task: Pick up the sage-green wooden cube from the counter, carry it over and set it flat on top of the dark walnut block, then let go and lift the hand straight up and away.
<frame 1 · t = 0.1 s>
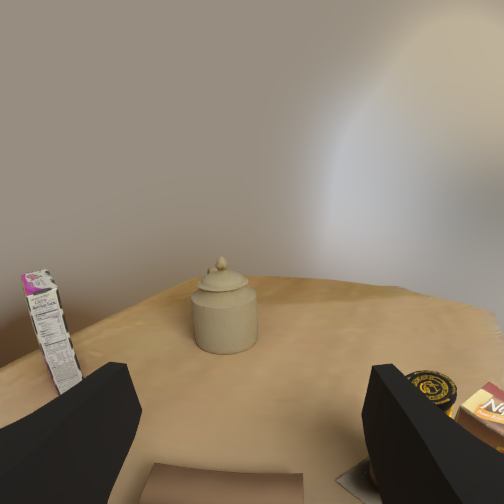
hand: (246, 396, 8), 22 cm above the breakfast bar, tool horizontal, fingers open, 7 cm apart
candy bar box: (66, 379, 41), on the breakfast bar
condiment: (389, 478, 23), on the breakfast bar
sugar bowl: (220, 336, 56), on the breakfast bar
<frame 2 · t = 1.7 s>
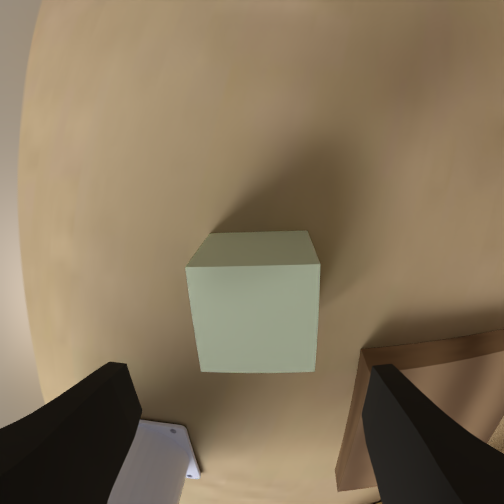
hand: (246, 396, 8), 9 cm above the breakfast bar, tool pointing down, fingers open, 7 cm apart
walnut block: (427, 405, 20), on the breakfast bar
sage cube: (260, 276, 17), on the breakfast bar
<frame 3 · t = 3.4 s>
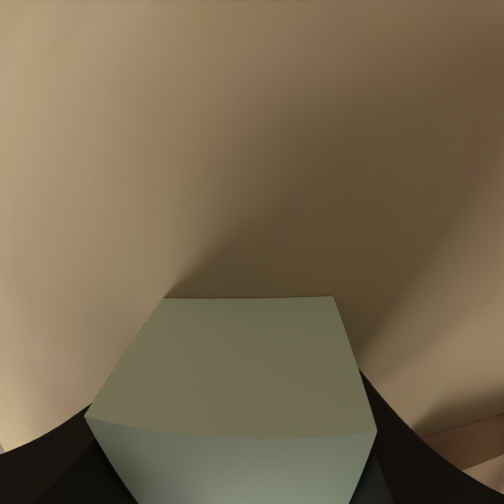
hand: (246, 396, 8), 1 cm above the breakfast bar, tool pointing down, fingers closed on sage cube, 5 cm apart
walnut block: (459, 476, 13), on the breakfast bar
sage cube: (250, 366, 10), on the breakfast bar, touching gripper
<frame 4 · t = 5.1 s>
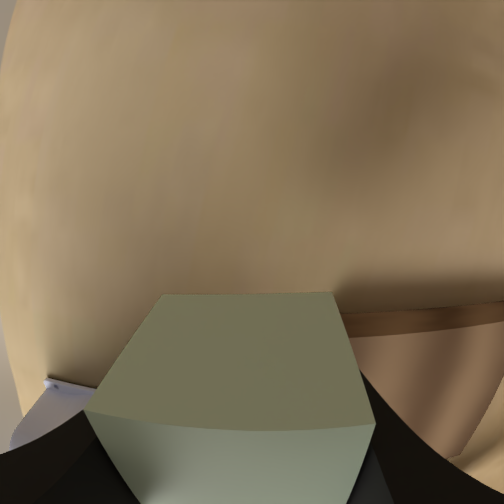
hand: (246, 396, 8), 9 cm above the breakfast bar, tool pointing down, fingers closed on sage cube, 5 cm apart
walnut block: (402, 389, 20), on the breakfast bar
sage cube: (249, 362, 10), point 7 cm above the breakfast bar, touching gripper
when the fingers open (5 cm above the breakfast bar, at t = 7.2 s): sage cube drops 1 cm, point 2 cm above the breakfast bar.
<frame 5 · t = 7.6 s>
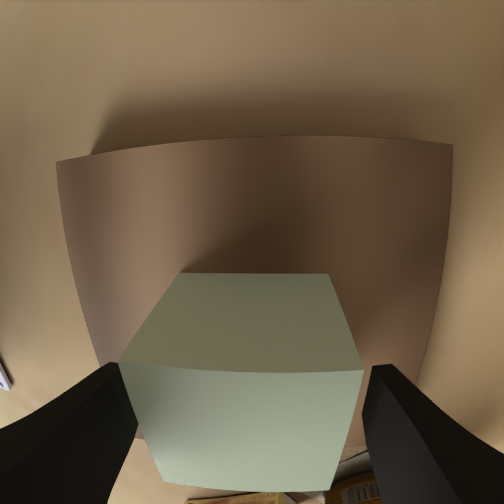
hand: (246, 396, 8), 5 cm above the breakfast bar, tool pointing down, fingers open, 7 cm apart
candy box: (241, 502, 20), on the breakfast bar
condiment: (357, 481, 18), on the breakfast bar
walnut block: (257, 302, 14), on the breakfast bar
sage cube: (253, 337, 11), point 2 cm above the breakfast bar
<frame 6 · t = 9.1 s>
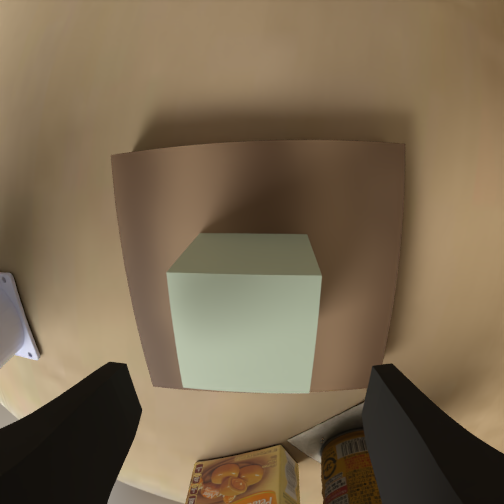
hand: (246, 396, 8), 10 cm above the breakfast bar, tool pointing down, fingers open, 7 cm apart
candy box: (246, 462, 24), on the breakfast bar
condiment: (350, 440, 23), on the breakfast bar
walnut block: (262, 266, 18), on the breakfast bar, touching sage cube
sage cube: (253, 283, 16), point 2 cm above the breakfast bar, touching walnut block
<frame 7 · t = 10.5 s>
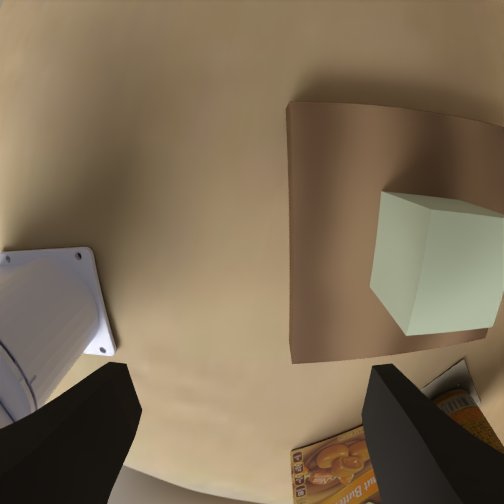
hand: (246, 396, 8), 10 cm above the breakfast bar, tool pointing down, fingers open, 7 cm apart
candy box: (342, 443, 24), on the breakfast bar
condiment: (439, 404, 22), on the breakfast bar
walnut block: (400, 230, 18), on the breakfast bar, touching sage cube
sage cube: (417, 242, 15), point 2 cm above the breakfast bar, touching walnut block
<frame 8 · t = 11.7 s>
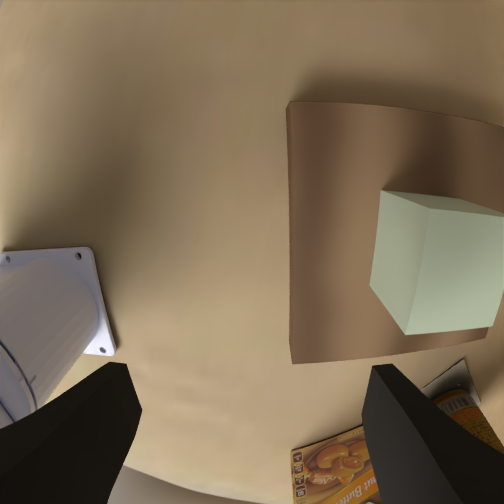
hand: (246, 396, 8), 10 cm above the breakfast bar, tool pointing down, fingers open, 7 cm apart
candy box: (342, 443, 24), on the breakfast bar
condiment: (439, 404, 22), on the breakfast bar
walnut block: (400, 230, 18), on the breakfast bar, touching sage cube
sage cube: (417, 241, 15), point 2 cm above the breakfast bar, touching walnut block
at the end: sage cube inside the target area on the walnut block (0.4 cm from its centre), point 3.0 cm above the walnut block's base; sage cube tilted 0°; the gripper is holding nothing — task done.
